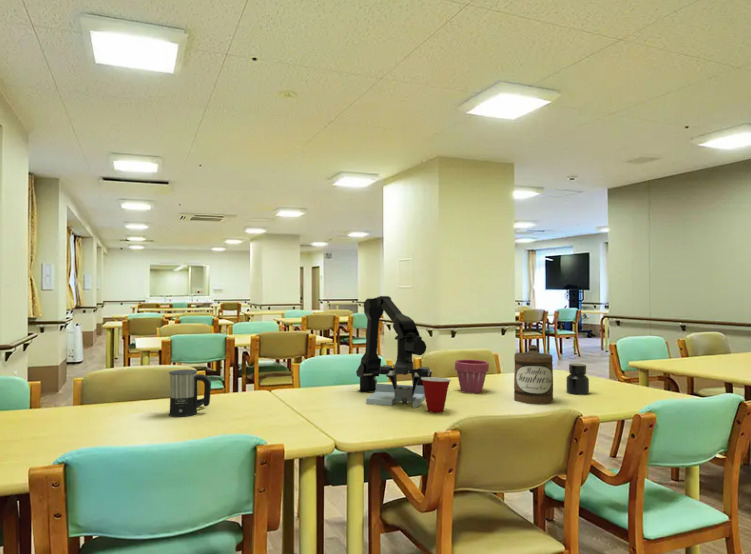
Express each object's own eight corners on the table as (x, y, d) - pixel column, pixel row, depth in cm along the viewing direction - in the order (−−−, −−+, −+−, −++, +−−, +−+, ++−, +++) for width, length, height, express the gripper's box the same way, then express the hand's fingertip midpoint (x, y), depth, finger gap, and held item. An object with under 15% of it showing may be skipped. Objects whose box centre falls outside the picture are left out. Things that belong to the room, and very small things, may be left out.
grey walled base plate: (366, 404, 202) (366, 390, 202) (376, 395, 217) (376, 383, 217) (418, 407, 197) (418, 393, 197) (424, 398, 212) (425, 386, 213)
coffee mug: (432, 396, 216) (432, 372, 216) (411, 396, 216) (411, 372, 216) (430, 391, 228) (430, 367, 228) (410, 391, 228) (410, 367, 228)
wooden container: (515, 403, 205) (516, 346, 205) (512, 395, 220) (512, 342, 220) (556, 405, 203) (556, 347, 203) (549, 397, 217) (549, 343, 218)
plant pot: (493, 390, 231) (493, 360, 231) (481, 395, 219) (481, 364, 219) (462, 387, 239) (462, 358, 239) (449, 392, 227) (449, 361, 227)
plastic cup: (454, 409, 194) (454, 376, 194) (445, 415, 184) (445, 381, 184) (426, 406, 199) (426, 374, 199) (416, 412, 189) (416, 378, 189)
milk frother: (169, 418, 178) (170, 374, 178) (164, 408, 192) (165, 367, 192) (213, 414, 184) (214, 371, 184) (205, 405, 198) (206, 365, 198)
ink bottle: (594, 393, 225) (594, 365, 226) (581, 396, 220) (581, 367, 221) (574, 390, 233) (574, 362, 234) (561, 392, 228) (561, 364, 229)
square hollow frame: (394, 397, 200) (394, 389, 200) (397, 394, 206) (398, 386, 206) (411, 398, 198) (411, 390, 199) (414, 395, 205) (414, 387, 205)
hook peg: (401, 404, 202) (401, 388, 202) (402, 403, 204) (402, 387, 204) (406, 404, 201) (406, 388, 201) (407, 403, 203) (407, 387, 203)
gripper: (375, 353, 197) (375, 396, 197) (425, 355, 193) (425, 399, 192) (382, 350, 208) (382, 390, 208) (430, 352, 203) (430, 393, 203)
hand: (404, 393), depth 202 cm, fingers closed on square hollow frame, 6 cm apart
